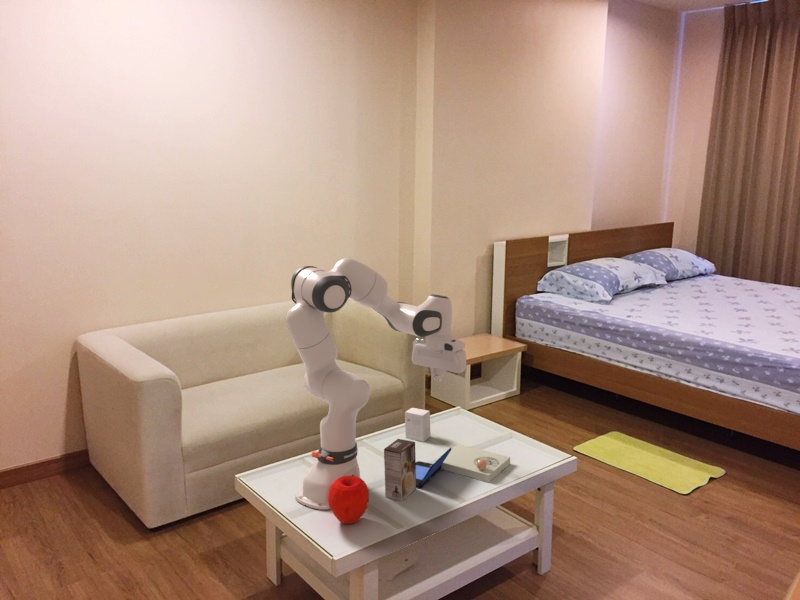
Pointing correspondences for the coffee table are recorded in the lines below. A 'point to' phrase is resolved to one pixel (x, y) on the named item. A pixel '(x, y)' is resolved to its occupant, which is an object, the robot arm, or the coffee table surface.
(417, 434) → the small box
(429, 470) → the handheld game console
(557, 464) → the coffee table surface
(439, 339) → the robot arm
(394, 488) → the coffee box
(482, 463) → the terracotta ball
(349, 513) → the apple
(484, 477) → the beige flat block
